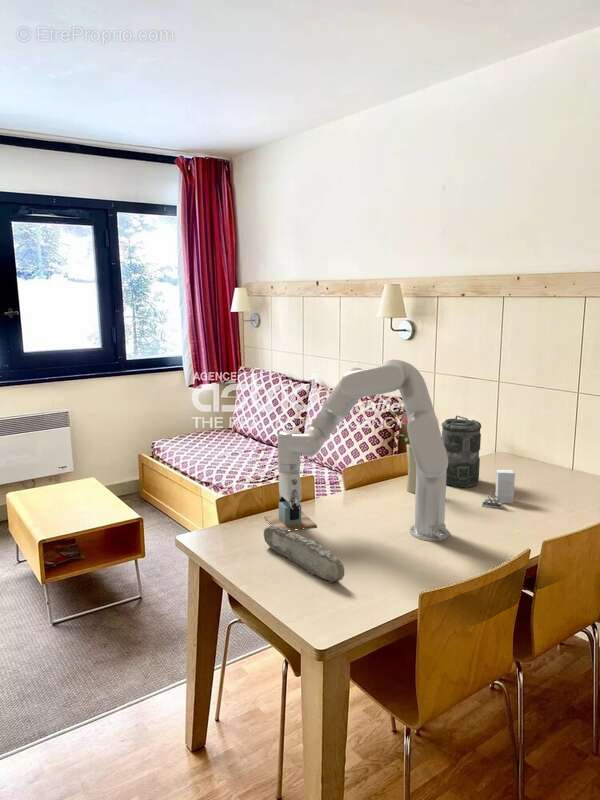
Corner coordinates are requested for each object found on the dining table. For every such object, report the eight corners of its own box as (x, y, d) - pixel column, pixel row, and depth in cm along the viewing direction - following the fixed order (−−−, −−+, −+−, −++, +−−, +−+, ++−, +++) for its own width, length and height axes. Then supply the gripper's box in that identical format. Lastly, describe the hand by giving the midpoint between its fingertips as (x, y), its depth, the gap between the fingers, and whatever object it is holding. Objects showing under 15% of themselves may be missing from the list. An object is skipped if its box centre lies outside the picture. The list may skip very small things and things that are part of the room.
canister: (431, 479, 247) (433, 414, 242) (461, 474, 253) (463, 411, 248) (456, 490, 233) (459, 422, 228) (486, 485, 239) (490, 418, 234)
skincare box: (511, 499, 222) (512, 469, 220) (513, 503, 218) (515, 473, 216) (494, 499, 223) (496, 469, 221) (496, 503, 219) (498, 472, 217)
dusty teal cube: (301, 522, 199) (301, 505, 198) (285, 525, 197) (284, 508, 195) (294, 516, 204) (294, 500, 203) (278, 518, 202) (278, 502, 201)
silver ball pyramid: (509, 504, 219) (511, 484, 217) (506, 512, 211) (507, 491, 210) (485, 500, 223) (486, 481, 221) (481, 508, 215) (482, 488, 214)
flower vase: (407, 500, 223) (409, 410, 216) (385, 491, 233) (387, 405, 226) (429, 494, 229) (432, 407, 223) (407, 485, 239) (409, 402, 233)
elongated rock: (258, 551, 181) (257, 520, 179) (271, 546, 184) (271, 516, 182) (338, 593, 155) (338, 559, 153) (352, 587, 158) (352, 553, 157)
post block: (316, 528, 197) (316, 512, 196) (277, 535, 192) (277, 518, 191) (301, 514, 210) (300, 498, 209) (264, 520, 204) (263, 504, 203)
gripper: (309, 472, 190) (309, 522, 194) (290, 458, 206) (290, 504, 209) (287, 475, 188) (288, 525, 191) (270, 461, 203) (270, 507, 207)
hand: (289, 514), depth 200 cm, fingers open, 9 cm apart
